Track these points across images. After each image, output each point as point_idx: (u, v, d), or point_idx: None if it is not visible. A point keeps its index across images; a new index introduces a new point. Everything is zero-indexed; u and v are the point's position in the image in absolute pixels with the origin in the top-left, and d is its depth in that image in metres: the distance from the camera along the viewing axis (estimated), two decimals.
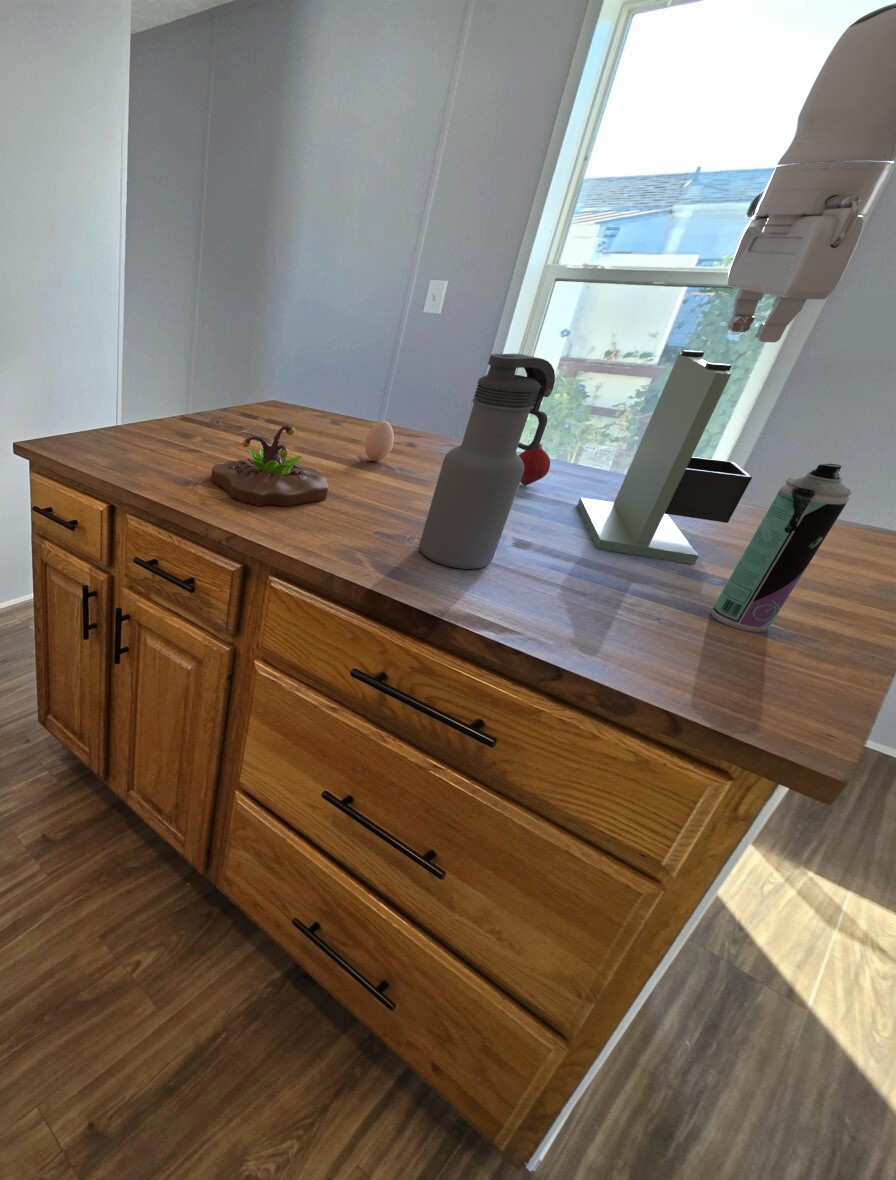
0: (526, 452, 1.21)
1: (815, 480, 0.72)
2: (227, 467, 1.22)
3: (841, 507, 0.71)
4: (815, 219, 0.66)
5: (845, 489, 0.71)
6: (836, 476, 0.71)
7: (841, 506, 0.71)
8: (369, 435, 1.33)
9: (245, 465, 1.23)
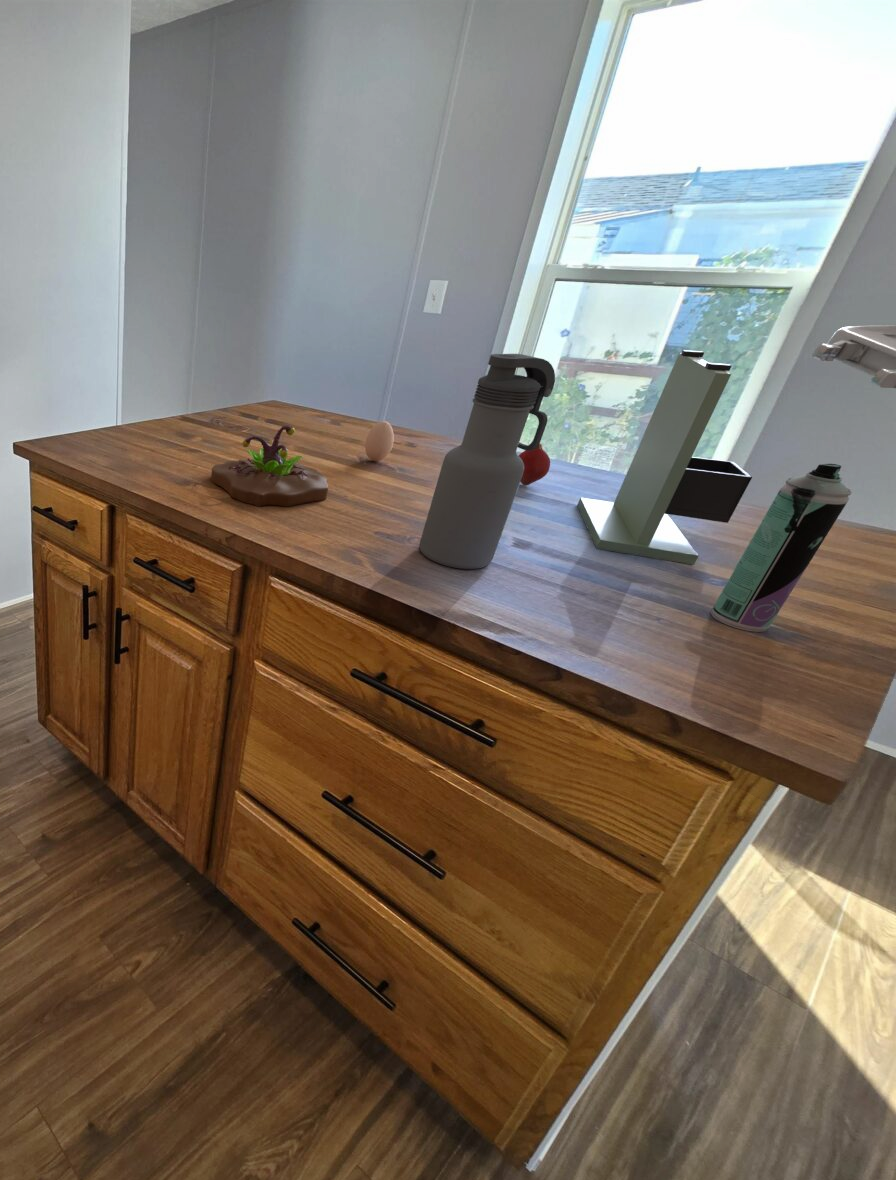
0: (526, 452, 1.21)
1: (815, 480, 0.72)
2: (227, 467, 1.22)
3: (841, 507, 0.71)
4: None
5: (845, 489, 0.71)
6: (836, 476, 0.71)
7: (841, 506, 0.71)
8: (369, 435, 1.33)
9: (245, 465, 1.23)
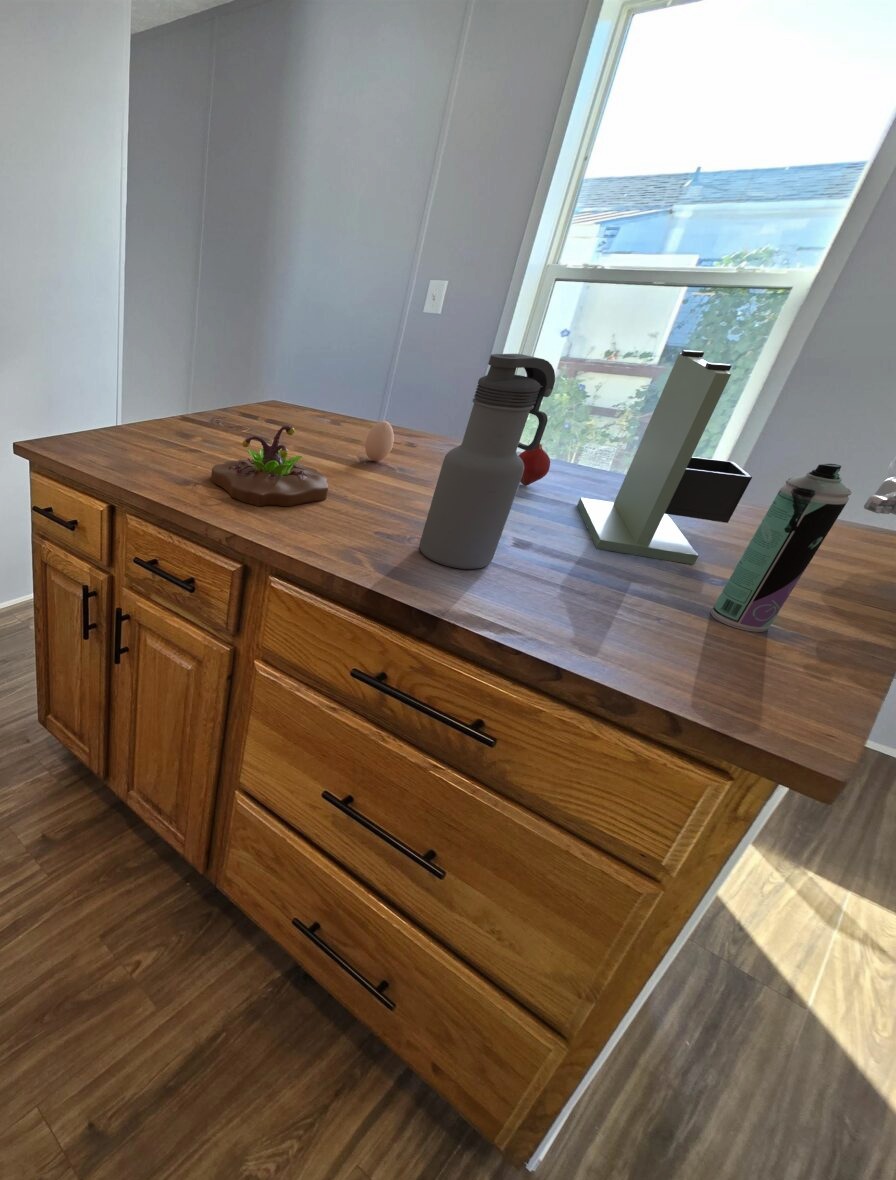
0: (526, 452, 1.21)
1: (815, 480, 0.72)
2: (227, 467, 1.22)
3: (841, 507, 0.71)
4: None
5: (845, 489, 0.71)
6: (836, 476, 0.71)
7: (841, 506, 0.71)
8: (369, 435, 1.33)
9: (245, 465, 1.23)
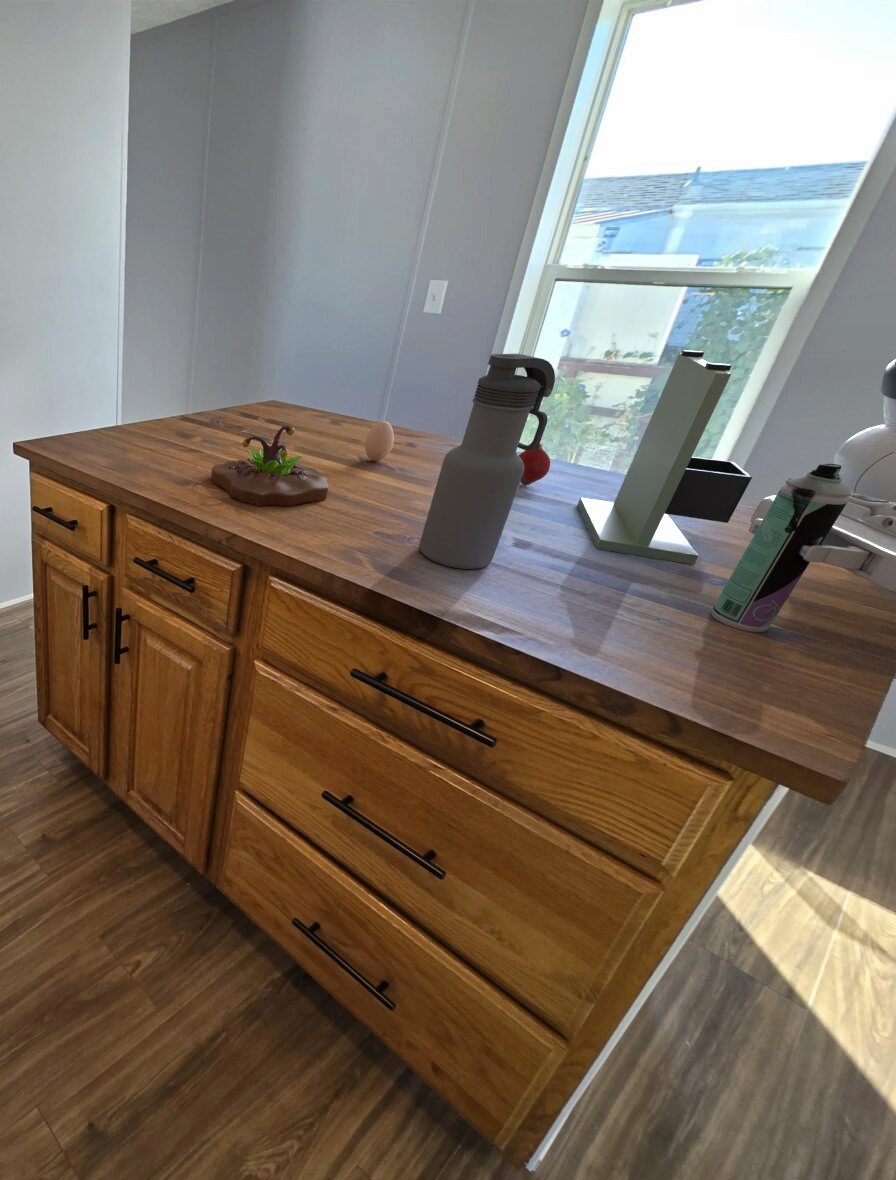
0: (526, 452, 1.21)
1: (815, 480, 0.72)
2: (227, 467, 1.22)
3: (841, 507, 0.71)
4: None
5: (845, 489, 0.71)
6: (836, 476, 0.71)
7: (841, 506, 0.71)
8: (369, 435, 1.33)
9: (245, 465, 1.23)
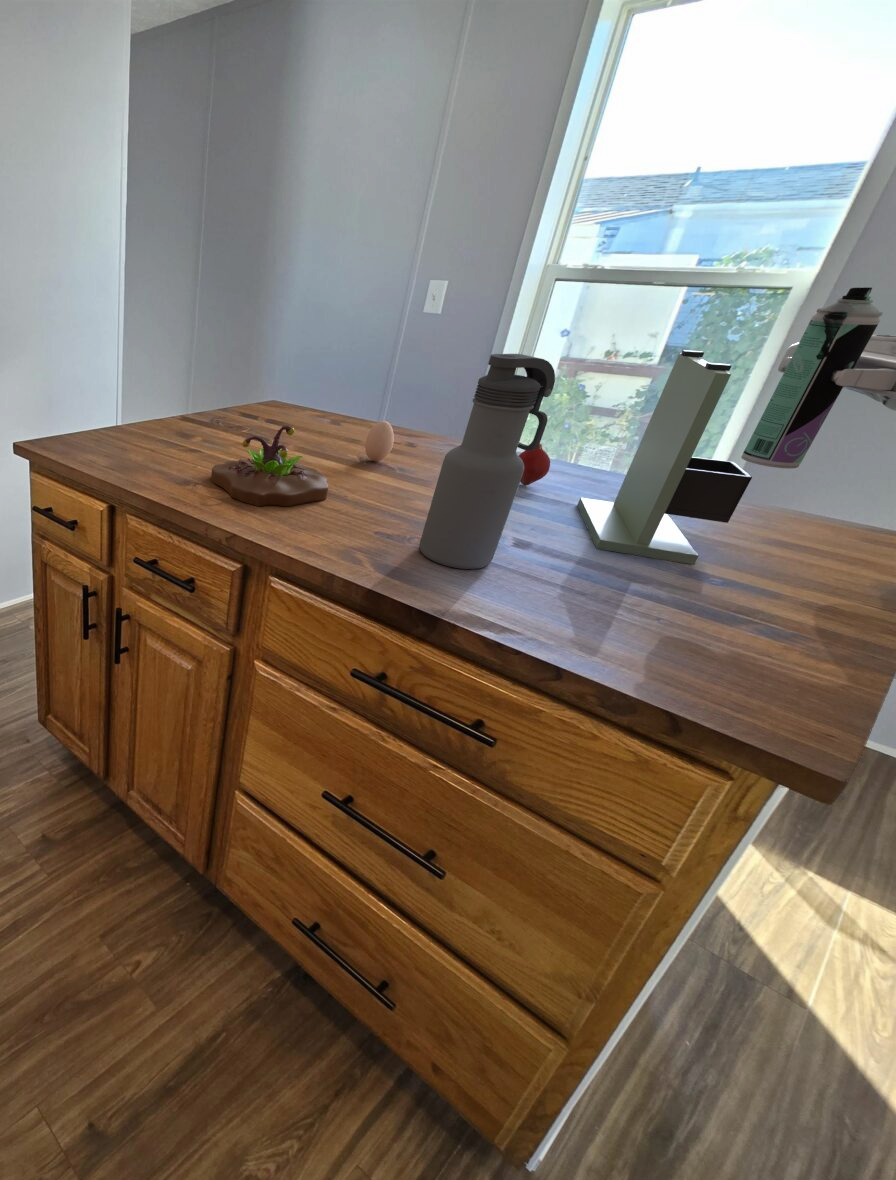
0: (526, 452, 1.21)
1: (846, 303, 0.73)
2: (227, 467, 1.22)
3: (873, 328, 0.72)
4: None
5: (876, 310, 0.72)
6: (867, 297, 0.72)
7: (873, 327, 0.72)
8: (369, 435, 1.33)
9: (245, 465, 1.23)
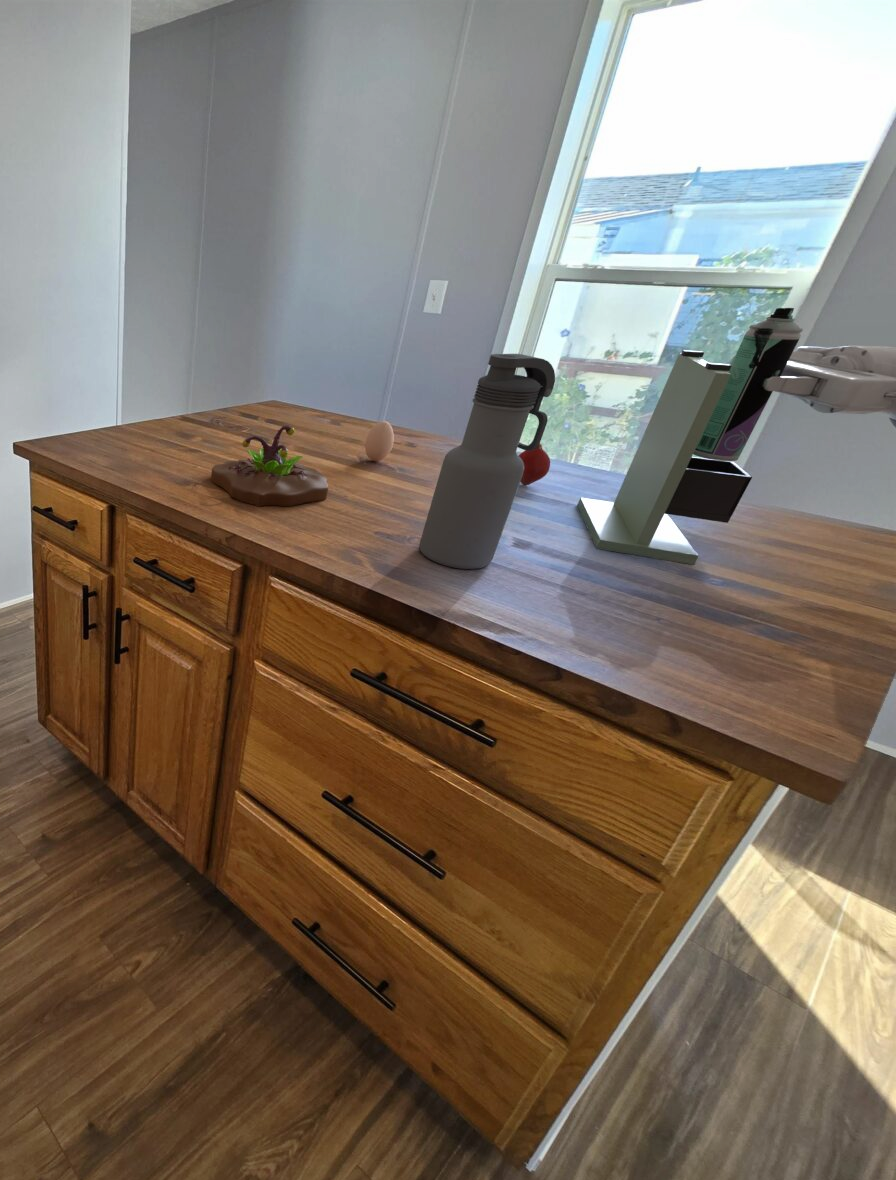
0: (526, 452, 1.21)
1: (773, 321, 0.86)
2: (227, 467, 1.22)
3: (794, 342, 0.86)
4: (895, 377, 0.83)
5: (797, 327, 0.86)
6: (790, 316, 0.86)
7: (794, 341, 0.86)
8: (369, 435, 1.33)
9: (245, 465, 1.23)
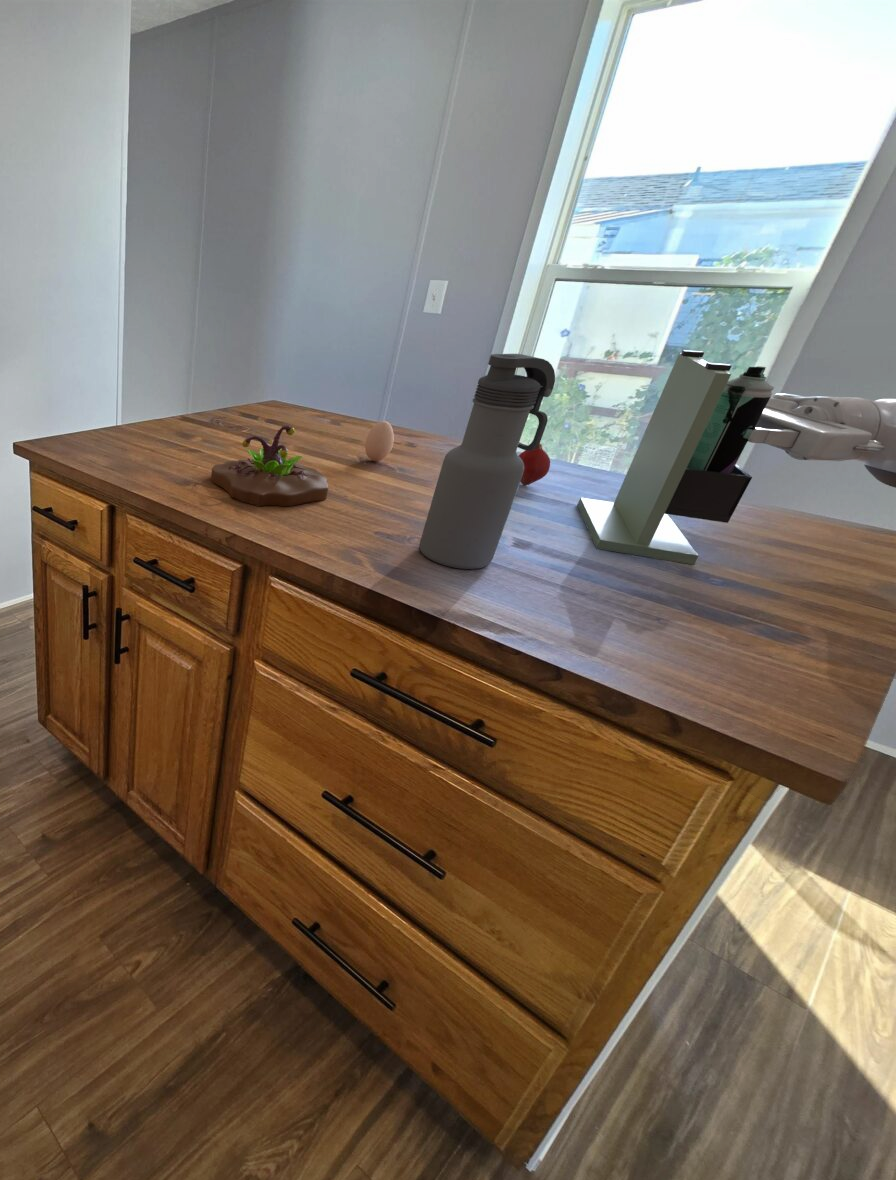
0: (526, 452, 1.21)
1: (745, 379, 0.90)
2: (227, 467, 1.22)
3: (766, 400, 0.90)
4: (865, 430, 0.86)
5: (768, 385, 0.89)
6: (761, 375, 0.89)
7: (765, 399, 0.89)
8: (369, 435, 1.33)
9: (245, 465, 1.23)
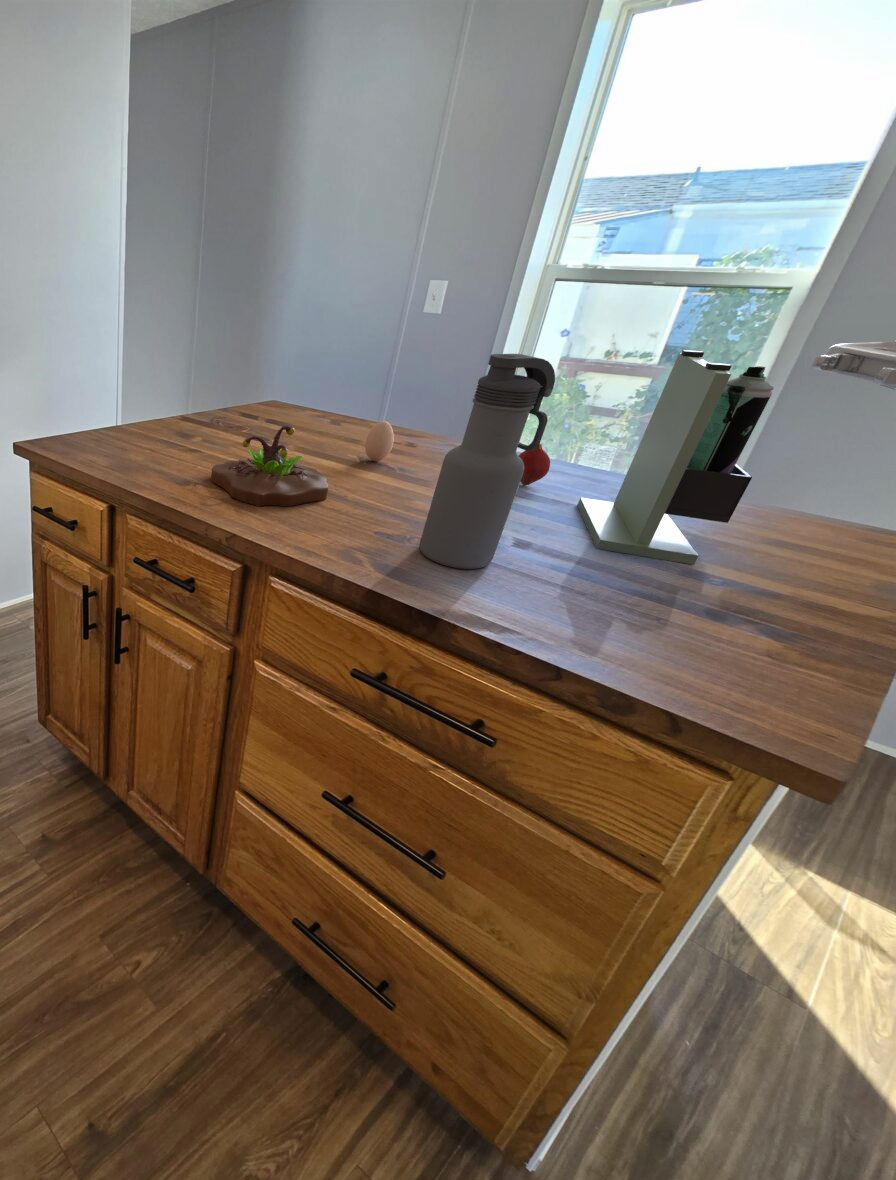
0: (526, 452, 1.21)
1: (745, 379, 0.90)
2: (227, 467, 1.22)
3: (766, 400, 0.90)
4: None
5: (768, 385, 0.89)
6: (761, 375, 0.89)
7: (765, 399, 0.90)
8: (369, 435, 1.33)
9: (245, 465, 1.23)
